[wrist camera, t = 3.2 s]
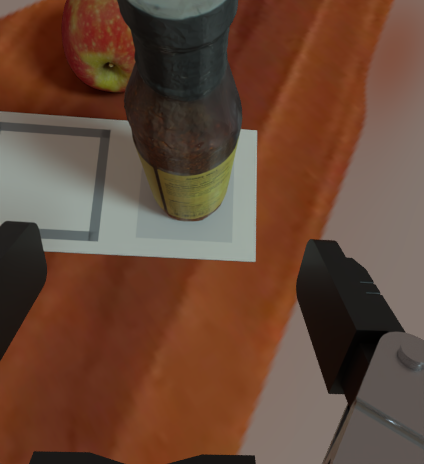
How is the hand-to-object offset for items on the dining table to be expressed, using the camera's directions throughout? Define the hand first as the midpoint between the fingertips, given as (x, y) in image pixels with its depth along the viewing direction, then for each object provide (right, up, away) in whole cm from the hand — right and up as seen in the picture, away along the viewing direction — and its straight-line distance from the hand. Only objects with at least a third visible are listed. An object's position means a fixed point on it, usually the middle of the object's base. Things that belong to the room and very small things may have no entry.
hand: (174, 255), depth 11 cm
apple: (-7, +16, +22) cm, 28 cm away
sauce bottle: (-1, +4, +20) cm, 20 cm away
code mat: (-6, +5, +19) cm, 21 cm away
